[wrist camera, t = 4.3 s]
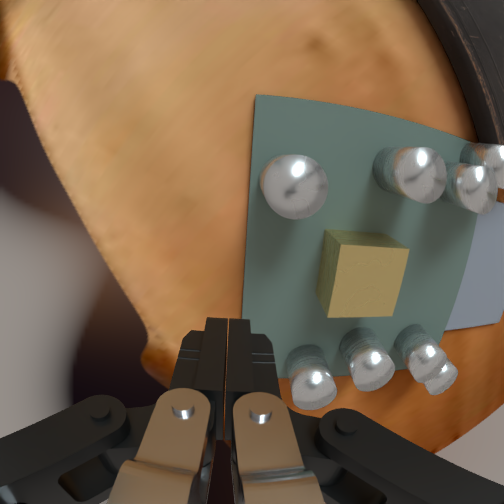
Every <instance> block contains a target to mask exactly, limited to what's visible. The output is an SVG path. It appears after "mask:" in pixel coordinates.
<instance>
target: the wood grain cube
mask: <svg viewBox="0 0 504 504" xmlns="http://www.w3.org/2000/svg"><path fill="white" fill-rule="evenodd" d="M409 250H410V249H409V248H407V247H406V246H404V245H403V244H401V243H400V242H398V241H396V240H395V239H393V238H392V237H390V236H389V235H387V234H382V233H370V232H358V231H346V230H333V229H325V233H324V240H323V247H322V254H321V261H320V268H319V274H318V280H317V286H316V292H315V293H316V295H317V297H318V299H319V301H320V303H321V305H322V307H323V309H324V312H325V314H326V316H327V318H341V317H384V316H392V315H393V312H394V309H395V305H396V302H397V298H398V295H399V291H400V287H401V283H402V279H403V276H404V271H405V267H406V263H407V259H408V254H409Z"/></svg>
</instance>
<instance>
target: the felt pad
mask: <svg viewBox="0 0 504 504" xmlns="http://www.w3.org/2000/svg"><path fill="white" fill-rule="evenodd" d="M503 311H504V203H501V202H498V201H496V202H495V205H494V206H493V208H492V209H491V211H490V212H488V213H487V214H483V215H482V214H478V215H477V221H476V226H475V231H474V236H473V240H472V245H471V249H470V253H469V257H468V261H467V265H466V268H465V272H464V275H463V279H462V282H461V285H460V289H459V292H458V295H457V298H456V301H455V304H454V307H453V310H452V312H451V315H450V318H449V320H448V323H447V326H446V328H445V330H453V329H460V328H468V327H474V326H481V325H487V324H493V323H499V321H500V318H501V316H502V313H503Z"/></svg>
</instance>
